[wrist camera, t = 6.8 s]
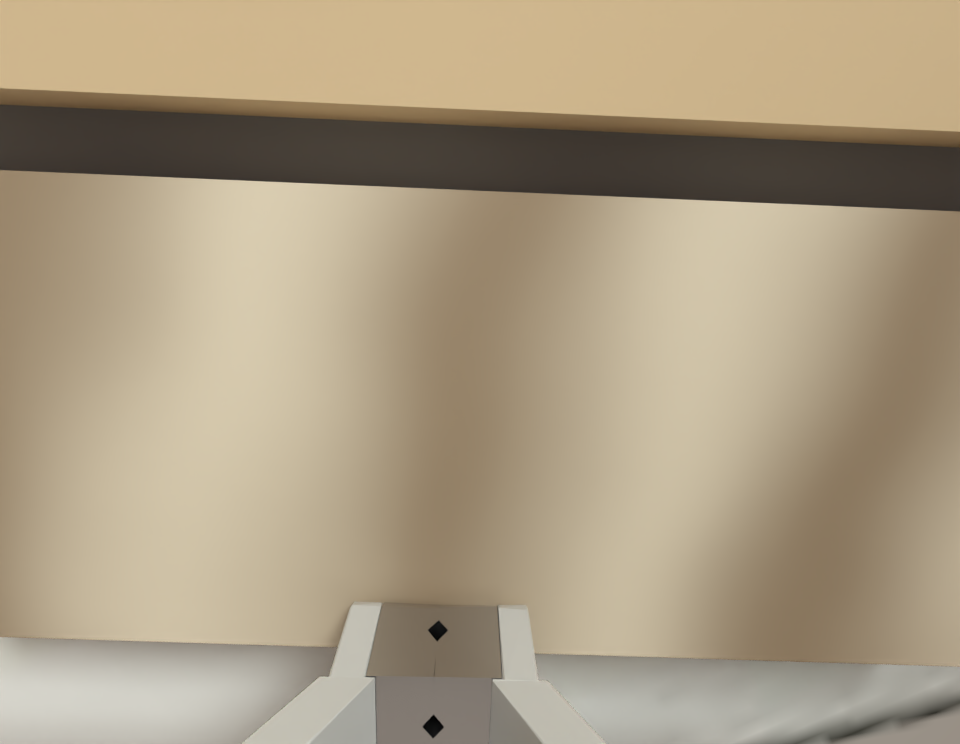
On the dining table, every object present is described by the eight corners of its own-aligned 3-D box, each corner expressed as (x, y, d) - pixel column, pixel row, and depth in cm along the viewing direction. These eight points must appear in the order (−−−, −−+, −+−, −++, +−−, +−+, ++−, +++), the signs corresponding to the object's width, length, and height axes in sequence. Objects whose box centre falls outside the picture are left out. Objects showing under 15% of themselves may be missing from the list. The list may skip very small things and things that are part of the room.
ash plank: (1084, 220, 9) (1201, 221, 7) (953, 609, 11) (1023, 668, 10) (-94, 169, 9) (-207, 161, 7) (4, 578, 11) (-68, 634, 9)
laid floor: (1277, -485, 7) (1597, -760, 5) (916, 611, 12) (1004, 693, 10) (-227, -578, 7) (-527, -911, 5) (39, 582, 12) (-51, 661, 10)
